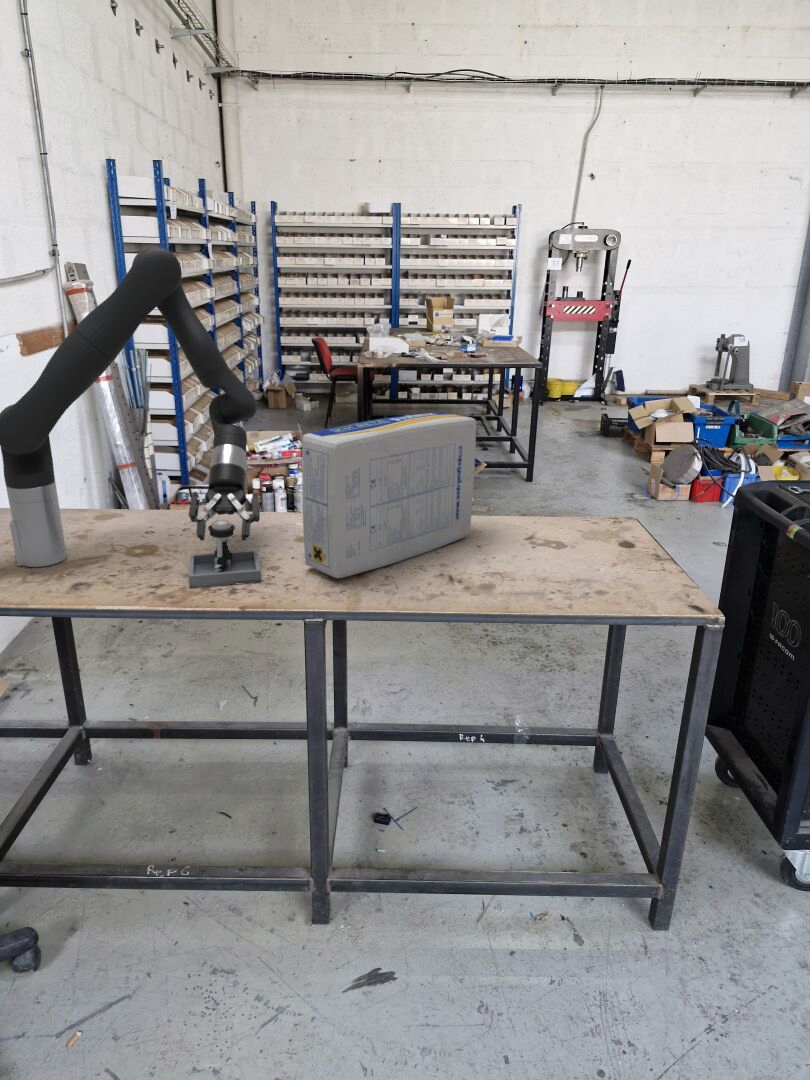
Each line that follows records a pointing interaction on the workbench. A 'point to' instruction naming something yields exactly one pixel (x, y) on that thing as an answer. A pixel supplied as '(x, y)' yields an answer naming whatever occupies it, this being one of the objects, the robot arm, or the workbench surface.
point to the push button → (222, 543)
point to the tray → (239, 572)
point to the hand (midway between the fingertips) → (222, 538)
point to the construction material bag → (386, 490)
